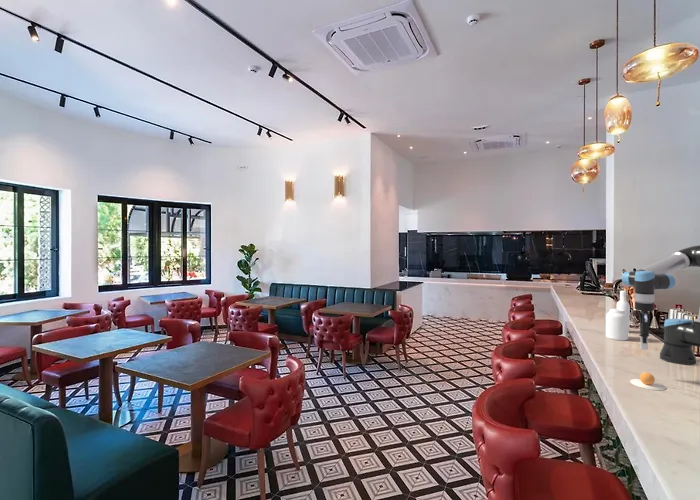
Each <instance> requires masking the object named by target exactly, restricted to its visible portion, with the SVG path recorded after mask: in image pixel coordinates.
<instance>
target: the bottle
mask: <svg viewBox="0 0 700 500" xmlns="http://www.w3.org/2000/svg"><path fill="white" fill-rule="evenodd" d="M630 307H631V306H630V303H629V302H628V301H627V291H626V290H619V300H618V301H617V302H616V308H615V309H623V310H625V313H626V314H627V315H628V334H629V333H630V330H631V329H630V317H631V316H630V315H631V313H630V310H631V308H630Z"/></svg>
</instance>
